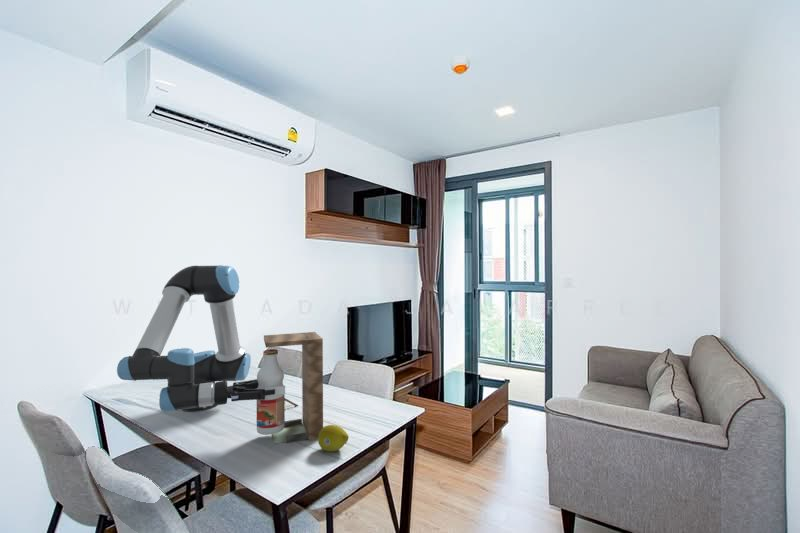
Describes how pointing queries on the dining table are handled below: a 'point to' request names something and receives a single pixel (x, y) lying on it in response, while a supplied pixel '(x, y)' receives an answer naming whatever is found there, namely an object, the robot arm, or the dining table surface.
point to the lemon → (332, 438)
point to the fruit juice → (271, 406)
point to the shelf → (304, 386)
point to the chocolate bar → (289, 404)
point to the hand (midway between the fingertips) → (283, 385)
